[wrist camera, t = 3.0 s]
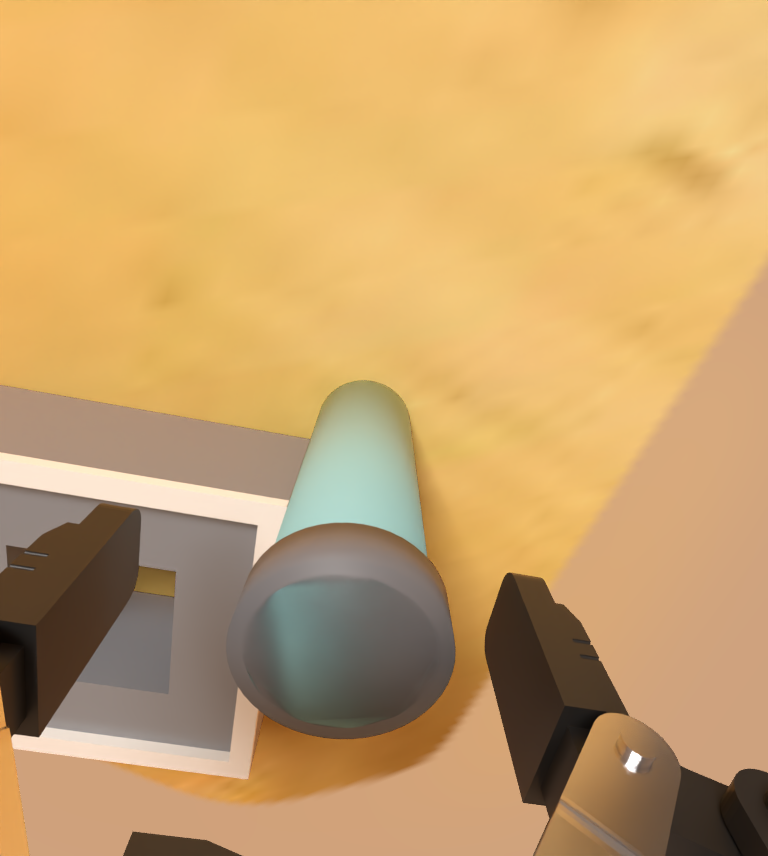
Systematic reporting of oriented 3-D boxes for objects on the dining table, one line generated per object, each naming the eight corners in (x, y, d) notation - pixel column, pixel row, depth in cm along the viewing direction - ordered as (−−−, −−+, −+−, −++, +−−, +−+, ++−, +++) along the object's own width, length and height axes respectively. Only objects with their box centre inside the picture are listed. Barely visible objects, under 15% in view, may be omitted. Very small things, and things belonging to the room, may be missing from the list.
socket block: (309, 439, 21) (286, 506, 16) (275, 669, 25) (248, 779, 20) (-3, 384, 20) (-129, 438, 15) (15, 631, 25) (-80, 736, 20)
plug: (428, 383, 20) (480, 580, 9) (405, 480, 22) (428, 752, 11) (318, 363, 20) (236, 541, 9) (303, 463, 22) (217, 722, 10)
